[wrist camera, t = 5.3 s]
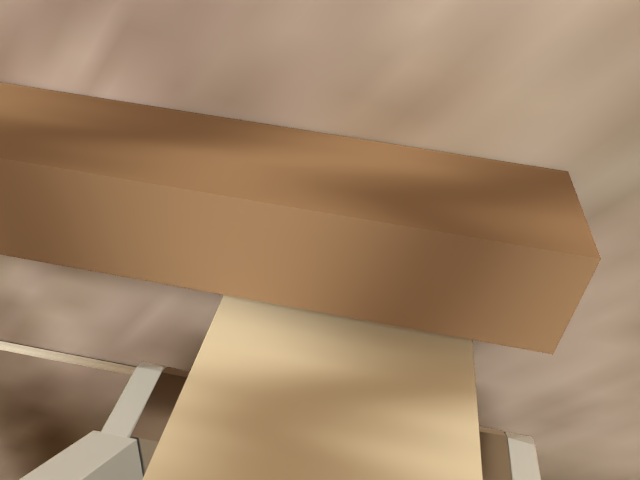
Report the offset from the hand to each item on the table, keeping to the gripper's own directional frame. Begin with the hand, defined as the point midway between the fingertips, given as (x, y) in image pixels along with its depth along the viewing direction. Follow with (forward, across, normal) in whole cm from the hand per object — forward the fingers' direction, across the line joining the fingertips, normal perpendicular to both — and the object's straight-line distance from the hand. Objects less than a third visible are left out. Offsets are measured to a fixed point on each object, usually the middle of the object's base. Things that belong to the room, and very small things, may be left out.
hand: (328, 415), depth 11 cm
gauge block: (+2, 0, 0) cm, 2 cm away
